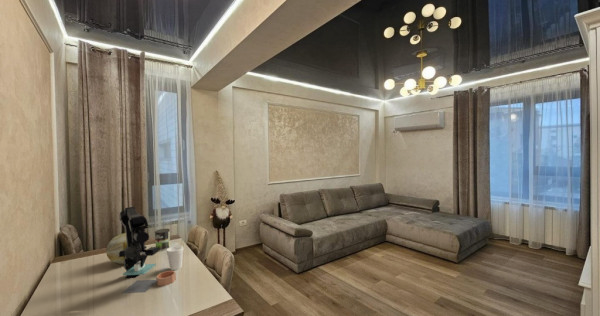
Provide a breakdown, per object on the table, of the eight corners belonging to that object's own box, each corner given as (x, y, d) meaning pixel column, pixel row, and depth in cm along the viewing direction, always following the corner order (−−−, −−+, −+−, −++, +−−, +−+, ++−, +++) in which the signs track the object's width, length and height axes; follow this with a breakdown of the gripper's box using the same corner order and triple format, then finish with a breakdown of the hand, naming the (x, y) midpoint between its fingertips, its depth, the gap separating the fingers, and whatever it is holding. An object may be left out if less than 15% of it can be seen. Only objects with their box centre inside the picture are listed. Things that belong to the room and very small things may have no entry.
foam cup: (177, 272, 153) (176, 251, 153) (164, 271, 155) (163, 251, 155) (187, 265, 163) (186, 245, 162) (175, 265, 164) (173, 245, 164)
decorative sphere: (142, 263, 170) (141, 234, 169) (105, 272, 158) (104, 240, 158) (141, 254, 186) (140, 227, 185) (108, 261, 175) (106, 233, 174)
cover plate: (122, 275, 132) (122, 267, 132) (136, 266, 143) (136, 258, 143) (143, 274, 132) (143, 266, 132) (155, 265, 143) (155, 257, 143)
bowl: (153, 286, 137) (153, 278, 137) (162, 278, 146) (162, 271, 146) (170, 286, 137) (169, 278, 137) (178, 278, 146) (177, 270, 146)
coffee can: (164, 251, 190) (163, 232, 190) (152, 250, 192) (151, 232, 192) (173, 246, 200) (172, 228, 200) (162, 245, 202) (161, 228, 202)
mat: (120, 294, 131) (120, 293, 131) (137, 281, 144) (137, 280, 144) (145, 293, 131) (145, 292, 131) (159, 280, 144) (159, 279, 144)
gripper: (110, 245, 129) (112, 274, 130) (146, 243, 129) (147, 273, 129) (125, 237, 140) (127, 265, 141) (158, 236, 140) (159, 263, 141)
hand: (139, 267), depth 138 cm, fingers closed on cover plate, 2 cm apart
